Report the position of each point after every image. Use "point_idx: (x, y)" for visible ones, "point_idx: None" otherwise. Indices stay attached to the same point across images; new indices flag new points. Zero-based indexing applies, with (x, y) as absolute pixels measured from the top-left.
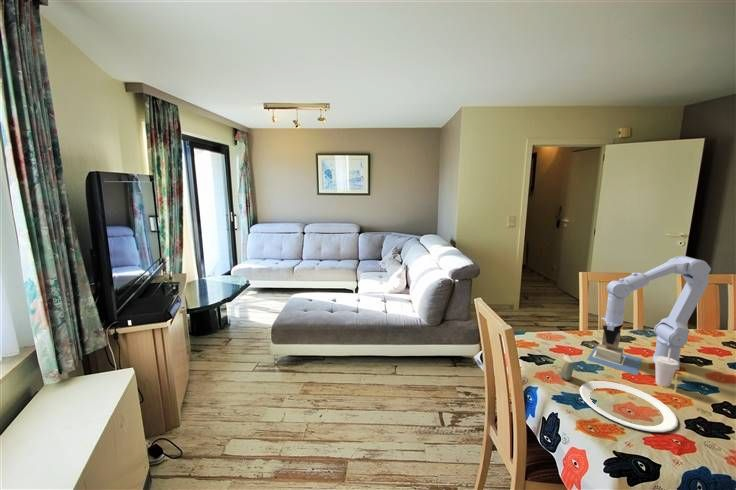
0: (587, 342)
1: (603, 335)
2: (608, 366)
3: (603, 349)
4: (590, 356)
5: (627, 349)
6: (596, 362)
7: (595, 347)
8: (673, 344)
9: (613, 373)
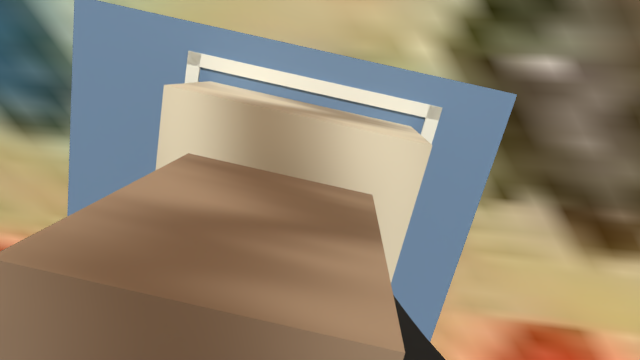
0: (616, 14)
1: (92, 211)
2: (69, 175)
3: (167, 161)
4: (181, 32)
5: (585, 354)
6: (76, 83)
7: (462, 91)
8: None
9: (6, 198)
